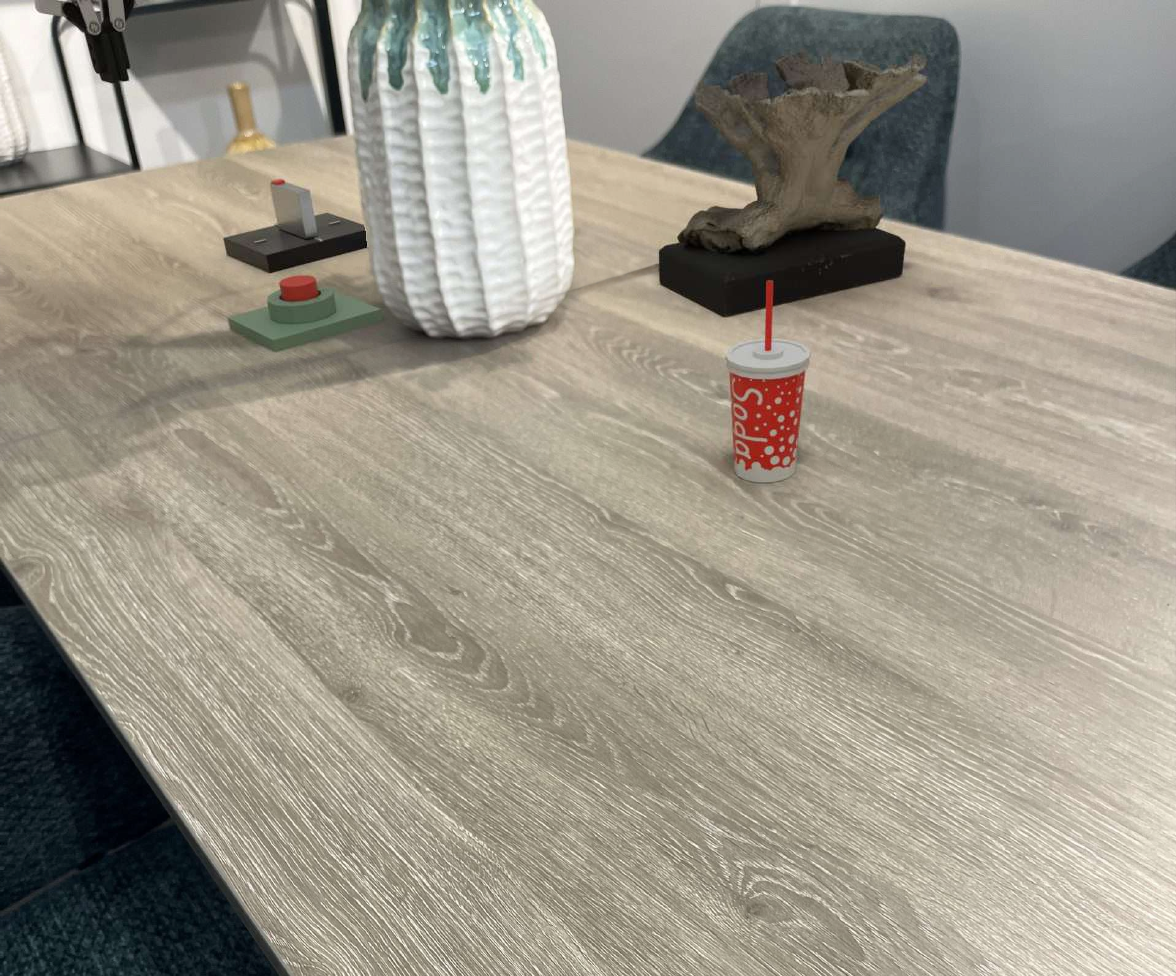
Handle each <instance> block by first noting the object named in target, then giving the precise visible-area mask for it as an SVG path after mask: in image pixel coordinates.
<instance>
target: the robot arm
mask: <svg viewBox="0 0 1176 976" xmlns="http://www.w3.org/2000/svg"><path fill="white" fill-rule="evenodd" d="M149 1H150V0H98V3H99V10H100V11H99V12H100V16H101V17H100V20H101V23H100V21H99V18H98V16H97V13H96V10H95V8H94V5H93V3H92V0H66V1H65V0H34V7H35V10H36V11H37V12H38V13H39V14H43V15H49V16H55V17H62V18H63V17H64V18H65V19H66V20H67V21H69V22H70V23H71V24H72V25H73V26H74V27H76V28H77V29H78V31H79V32H80V33H83V34H84V37H85V42H86V45H87V49H88V53H89V57H90V61H91V64H92V69H93V70H94V72H95V74H97V75H99V77H100V80H101V82H105V83H109V84H118V83H119V82H122V83H125V82H129V81H130V76H129V72H128V70H130V69H131V64H130V58H129V54H128V50H127V46H126V42H125V37H124V32H123V31H125V29H126V23H127V21H128V19H129V17H130V15H131V13H132V11H133V9H134V8H136V7H139V6H141V5H143V4H145V3H147V2H149Z"/></svg>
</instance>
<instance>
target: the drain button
mask: <svg viewBox="0 0 1176 976" xmlns="http://www.w3.org/2000/svg"><path fill="white" fill-rule="evenodd" d="M278 285H279V290H281V295H282V300H283V301H288V302H297V301H306V300H310V299H313V298H316V297H318V296H319V294H318V288H317V285H318V283H317V279H316V277H315V276H313V275H306V274H303V275H301V274H299V275H294V276H288V277H285V278H283V279H281V280H280V281H279V283H278Z"/></svg>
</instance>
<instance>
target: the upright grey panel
mask: <svg viewBox="0 0 1176 976" xmlns="http://www.w3.org/2000/svg"><path fill="white" fill-rule="evenodd" d="M269 189H270V193H271V197H272V198H271V199H272V203H273V208H274V213H275V218H276V223H277V224H278V228H279V229H281V230H284V231H286V232H289V233H292V234H294V235H297V236H300V237H302V238H305V239H308V238H312V237H316V236H318V233H317V228H316V222H315V217H314V216H315V211H314V207H313V201H312V195H311V190H310V189H308V188H305V187H302V186H299V185H295V184H294V183H293V184H292V183H290V182H287V181H286V180H285V179H282V178H278V179H274V180H271V181H270V183H269Z"/></svg>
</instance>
